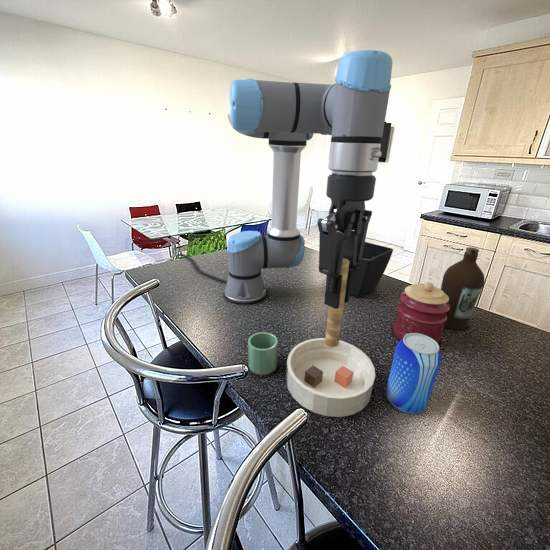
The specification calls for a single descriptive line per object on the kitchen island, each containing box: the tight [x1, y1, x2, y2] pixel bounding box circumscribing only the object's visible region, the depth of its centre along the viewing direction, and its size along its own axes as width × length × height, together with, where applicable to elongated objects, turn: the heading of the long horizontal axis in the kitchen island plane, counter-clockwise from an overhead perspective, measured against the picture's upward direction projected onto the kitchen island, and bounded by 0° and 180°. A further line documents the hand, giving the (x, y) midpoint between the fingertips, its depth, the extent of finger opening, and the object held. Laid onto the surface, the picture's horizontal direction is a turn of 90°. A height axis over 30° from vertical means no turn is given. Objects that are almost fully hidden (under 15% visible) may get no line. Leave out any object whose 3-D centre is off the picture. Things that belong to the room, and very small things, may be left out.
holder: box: [247, 331, 279, 376], centre depth 72 cm, size 7×7×8 cm
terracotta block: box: [334, 366, 354, 388], centre depth 68 cm, size 3×3×3 cm
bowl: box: [285, 337, 376, 418], centre depth 68 cm, size 20×20×6 cm
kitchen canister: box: [392, 281, 450, 344], centre depth 84 cm, size 13×13×18 cm
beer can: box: [385, 333, 443, 414], centre depth 61 cm, size 8×8×16 cm
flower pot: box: [350, 241, 394, 298], centre depth 113 cm, size 19×19×17 cm
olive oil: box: [440, 246, 485, 331], centre depth 90 cm, size 11×11×25 cm
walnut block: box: [304, 366, 323, 388], centre depth 68 cm, size 3×3×3 cm
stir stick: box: [324, 258, 349, 347], centre depth 56 cm, size 3×3×18 cm
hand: (336, 302), depth 56 cm, fingers closed on stir stick, 3 cm apart
